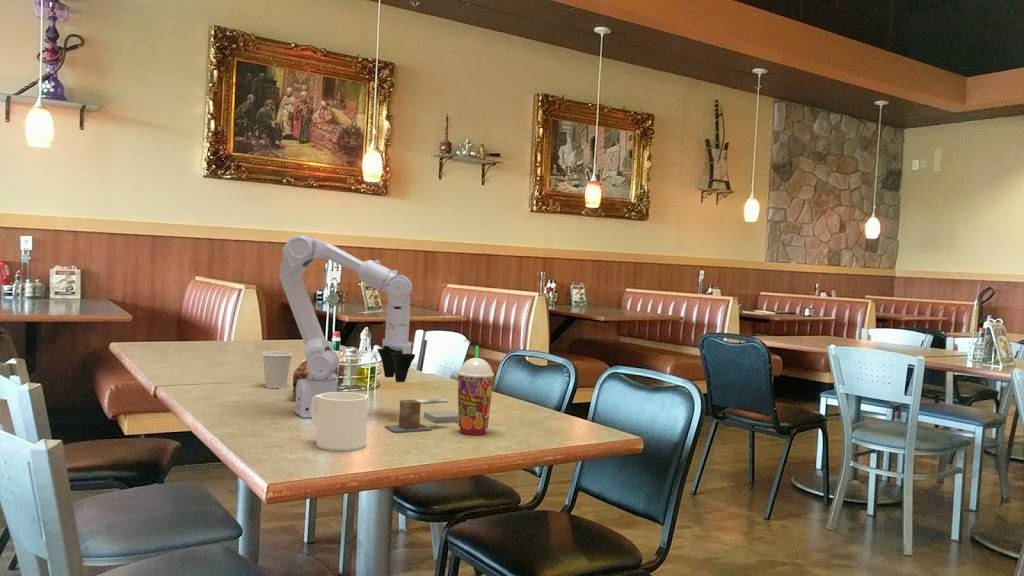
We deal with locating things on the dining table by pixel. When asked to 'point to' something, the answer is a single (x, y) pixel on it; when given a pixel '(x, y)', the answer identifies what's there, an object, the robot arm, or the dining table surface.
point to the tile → (441, 416)
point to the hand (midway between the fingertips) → (394, 379)
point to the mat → (399, 430)
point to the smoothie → (474, 395)
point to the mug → (340, 420)
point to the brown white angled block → (413, 412)
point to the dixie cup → (276, 368)
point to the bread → (302, 375)
